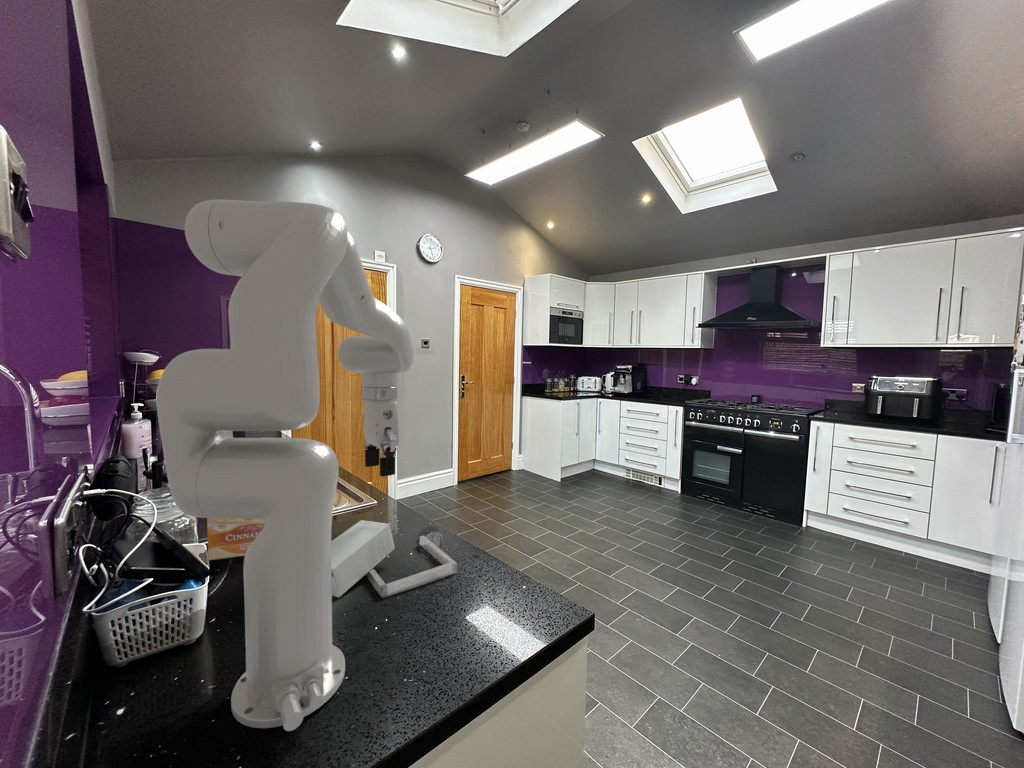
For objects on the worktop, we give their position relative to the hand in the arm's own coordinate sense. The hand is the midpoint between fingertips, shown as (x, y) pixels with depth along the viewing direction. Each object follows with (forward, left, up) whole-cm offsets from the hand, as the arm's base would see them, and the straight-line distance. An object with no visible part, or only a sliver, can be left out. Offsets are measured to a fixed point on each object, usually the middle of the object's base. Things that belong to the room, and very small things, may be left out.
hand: (379, 470), depth 91 cm
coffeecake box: (+11, +23, -17) cm, 31 cm away
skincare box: (-8, +3, -11) cm, 14 cm away
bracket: (-14, 0, -17) cm, 22 cm away
